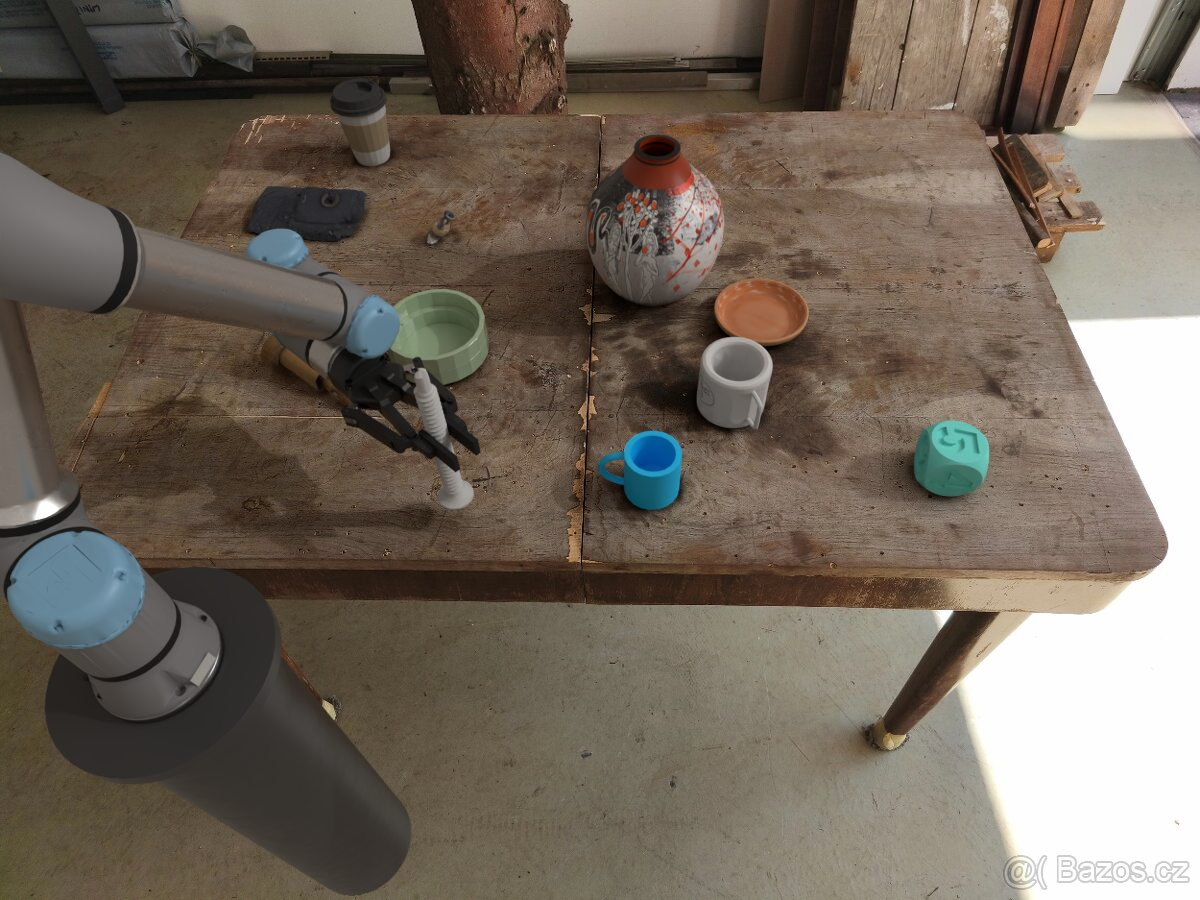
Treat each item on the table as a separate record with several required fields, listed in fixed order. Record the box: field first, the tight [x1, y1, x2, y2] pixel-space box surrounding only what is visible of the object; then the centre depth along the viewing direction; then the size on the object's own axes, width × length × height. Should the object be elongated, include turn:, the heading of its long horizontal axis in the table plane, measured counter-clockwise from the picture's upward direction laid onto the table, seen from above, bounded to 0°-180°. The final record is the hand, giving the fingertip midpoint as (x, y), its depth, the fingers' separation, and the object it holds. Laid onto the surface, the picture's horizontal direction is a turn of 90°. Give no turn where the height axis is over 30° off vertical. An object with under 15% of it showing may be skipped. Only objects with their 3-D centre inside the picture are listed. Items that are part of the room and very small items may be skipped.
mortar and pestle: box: [260, 334, 351, 407], centre depth 132 cm, size 7×6×18 cm
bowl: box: [387, 288, 490, 386], centre depth 135 cm, size 17×17×7 cm
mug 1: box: [597, 430, 683, 511], centre depth 116 cm, size 12×8×8 cm
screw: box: [414, 368, 475, 511], centre depth 103 cm, size 5×26×5 cm
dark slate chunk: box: [247, 185, 368, 242], centre depth 160 cm, size 15×22×5 cm
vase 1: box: [426, 209, 456, 245], centre depth 154 cm, size 5×5×6 cm
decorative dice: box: [913, 420, 990, 497], centre depth 116 cm, size 8×8×8 cm
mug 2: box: [696, 336, 774, 430], centre depth 124 cm, size 14×11×10 cm
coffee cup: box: [329, 77, 391, 167], centre depth 168 cm, size 11×11×15 cm
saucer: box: [713, 277, 810, 347], centre depth 139 cm, size 16×16×3 cm
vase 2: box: [584, 133, 725, 307], centre depth 135 cm, size 23×23×28 cm
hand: (466, 455), depth 100 cm, fingers closed on screw, 3 cm apart
